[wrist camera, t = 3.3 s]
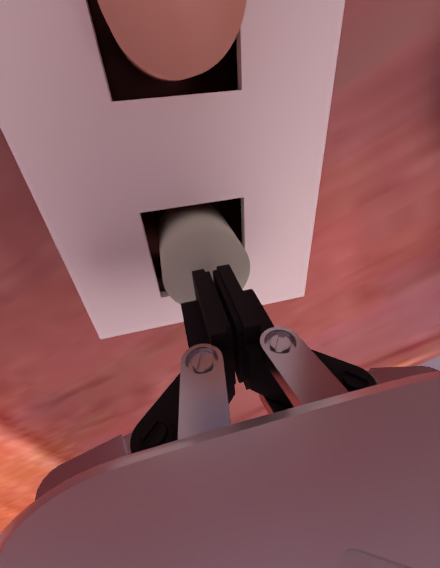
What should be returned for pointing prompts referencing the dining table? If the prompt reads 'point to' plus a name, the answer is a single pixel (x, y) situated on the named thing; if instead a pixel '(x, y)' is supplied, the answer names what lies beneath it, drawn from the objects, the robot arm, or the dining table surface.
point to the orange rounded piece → (173, 34)
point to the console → (168, 150)
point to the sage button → (197, 248)
